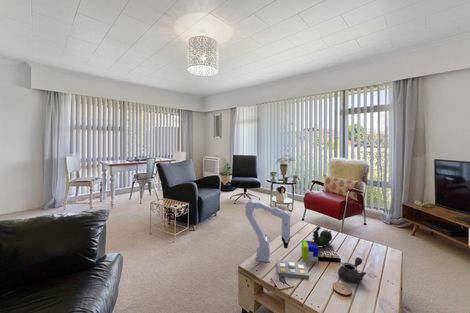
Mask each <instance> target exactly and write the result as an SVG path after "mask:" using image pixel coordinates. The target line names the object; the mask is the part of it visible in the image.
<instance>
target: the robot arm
mask: <svg viewBox="0 0 470 313" xmlns="http://www.w3.org/2000/svg"><path fill="white" fill-rule="evenodd" d="M244 208H245V216H246V219H247V220H248V221H249V223H250V225H251V227H252V229H253V230H254V232H255V235H256V237H257V240H258V243H259V245H257V246H256V261H258V262H267V263H270V262H271V254H270V253H271V252H270V251H271V246H270V242H271V238H270V236H269V235H267V233H266V232H264V230H263V229H262V227H261V225H260V224H259V221H258V220H257V218H256V216H255V215H254V210H257V209H261V210H264V211H266V212H269V213H270V215H272V216H274V217H276V218H279V219H281V235H280V236H281V241H282V244H283V248H284V249H288V246H289V243H290V241H291V238H292V237H293V235H292V234H291V214H290V212H289V211H288V210H284V209H283V210H282V209H281V208H279V207H278V206H273V207H272V206H270V205H268V204H266V203H263V202H262V201H260V200H257V199H255V198H250V199H249V200H248V201H247V202H246V205H245V206H244Z"/></svg>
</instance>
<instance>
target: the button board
mask: <svg viewBox="0 0 470 313" xmlns="http://www.w3.org/2000/svg"><path fill="white" fill-rule="evenodd" d="M289 262H293V263H294V264H295V268H289ZM280 263H285V266H286V267H280ZM298 265H303V266H304V269H298ZM276 270H277V271H276V272H277V276H280V277H289V278H290V277H291V278H298V279H300V278H301V279H310V274H309V271H308V268H307V264H306V262H299V261H289V260H288V261H287V260H278V259H276Z"/></svg>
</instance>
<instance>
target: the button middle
mask: <svg viewBox="0 0 470 313" xmlns="http://www.w3.org/2000/svg"><path fill="white" fill-rule="evenodd" d="M293 262H294V261H291V262H289V268H295V264H294V263H293Z"/></svg>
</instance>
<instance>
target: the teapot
mask: <svg viewBox="0 0 470 313" xmlns="http://www.w3.org/2000/svg"><path fill="white" fill-rule="evenodd" d="M362 262H363V259H362V258H361V257H358V256H357V257H356V258H355V260H354V264H353V263H350V262H343V263H342V264H341V266H339V268H338V270H337V274H338V276H339V277H340V278H341V279H342V280H344V281H346V282H348V283H352V284H353V283H354V284H355V283H359V282H362V281H363V278H364V277H365V275H367V272H366V271H361V272H359V270H358V266H360V265H361V264H362Z"/></svg>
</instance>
